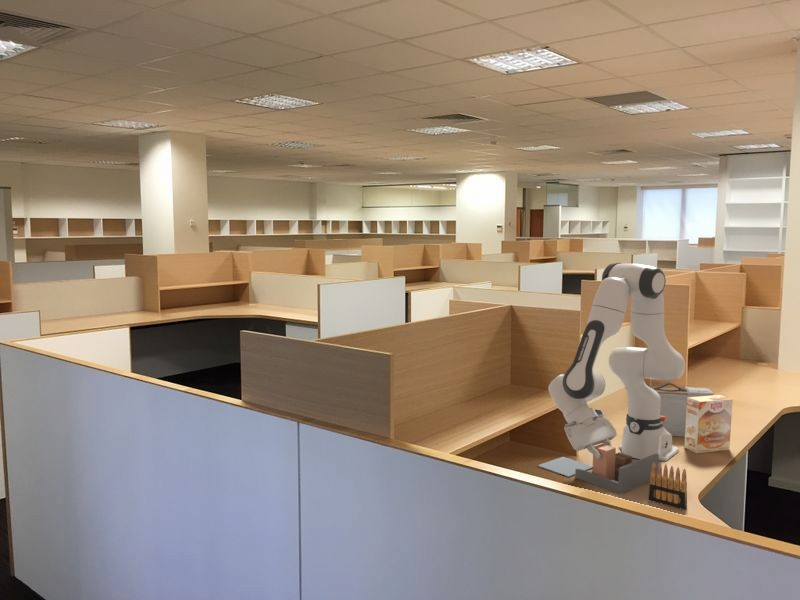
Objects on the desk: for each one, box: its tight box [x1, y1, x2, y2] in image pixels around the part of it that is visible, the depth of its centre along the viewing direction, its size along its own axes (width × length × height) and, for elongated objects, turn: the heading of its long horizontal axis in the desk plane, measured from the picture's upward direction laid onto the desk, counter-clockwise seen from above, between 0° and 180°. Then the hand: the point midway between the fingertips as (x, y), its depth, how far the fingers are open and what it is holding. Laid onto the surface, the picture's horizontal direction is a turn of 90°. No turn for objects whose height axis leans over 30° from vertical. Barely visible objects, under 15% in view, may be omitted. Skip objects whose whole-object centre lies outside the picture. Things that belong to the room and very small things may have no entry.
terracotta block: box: [592, 443, 617, 481], centre depth 214 cm, size 5×5×11 cm
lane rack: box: [574, 454, 660, 495], centre depth 216 cm, size 21×17×8 cm
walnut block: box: [615, 452, 633, 469], centre depth 221 cm, size 5×5×6 cm
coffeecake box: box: [684, 394, 733, 454], centre depth 245 cm, size 15×7×20 cm, turn 106°
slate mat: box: [537, 456, 593, 478], centre depth 227 cm, size 14×13×1 cm
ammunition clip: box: [647, 462, 688, 511], centre depth 196 cm, size 11×2×12 cm, turn 50°
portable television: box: [649, 379, 714, 437], centre depth 265 cm, size 12×24×30 cm, turn 78°
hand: (606, 455), depth 214 cm, fingers closed on terracotta block, 5 cm apart
